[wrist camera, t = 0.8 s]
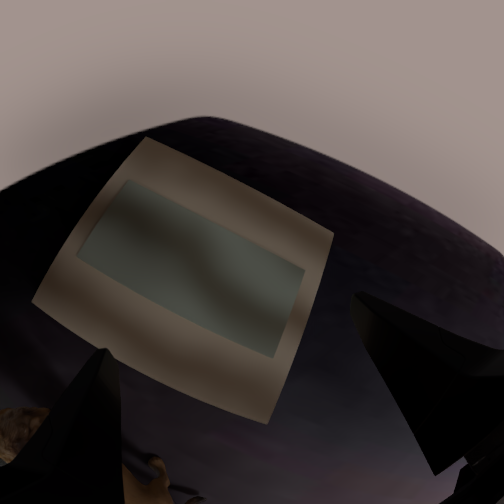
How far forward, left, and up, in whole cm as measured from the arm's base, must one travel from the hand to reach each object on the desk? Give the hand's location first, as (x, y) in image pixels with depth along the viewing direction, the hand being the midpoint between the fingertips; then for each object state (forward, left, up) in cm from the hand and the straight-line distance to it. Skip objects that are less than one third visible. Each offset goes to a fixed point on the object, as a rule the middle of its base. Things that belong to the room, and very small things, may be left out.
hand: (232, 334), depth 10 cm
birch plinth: (+5, +3, -12) cm, 13 cm away
